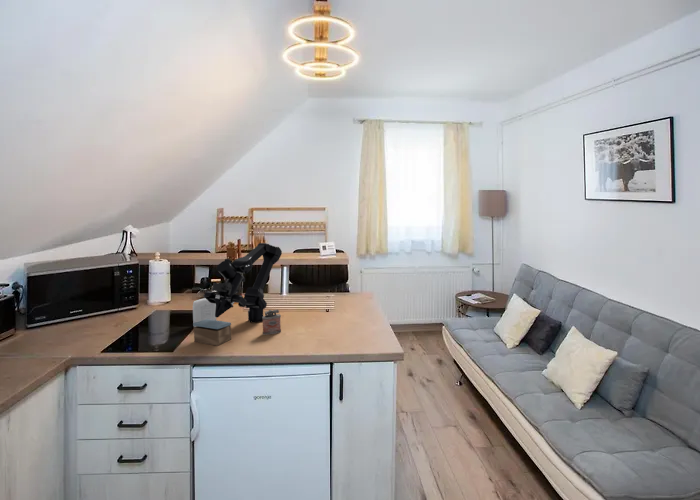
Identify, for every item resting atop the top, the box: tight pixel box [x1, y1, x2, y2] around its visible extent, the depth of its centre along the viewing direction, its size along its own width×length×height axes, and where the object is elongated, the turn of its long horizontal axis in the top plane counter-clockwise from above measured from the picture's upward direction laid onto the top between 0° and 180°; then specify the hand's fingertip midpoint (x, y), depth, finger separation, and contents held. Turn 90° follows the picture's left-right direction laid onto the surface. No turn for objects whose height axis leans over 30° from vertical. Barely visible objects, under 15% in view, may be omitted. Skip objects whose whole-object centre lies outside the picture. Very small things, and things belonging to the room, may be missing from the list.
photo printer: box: [192, 297, 217, 328], centre depth 193 cm, size 10×4×12 cm, turn 123°
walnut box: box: [193, 324, 232, 347], centre depth 173 cm, size 8×12×6 cm, turn 67°
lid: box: [192, 319, 232, 329], centre depth 172 cm, size 8×12×1 cm, turn 67°
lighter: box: [262, 309, 282, 336], centre depth 182 cm, size 8×3×10 cm, turn 117°
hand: (216, 316), depth 174 cm, fingers closed
